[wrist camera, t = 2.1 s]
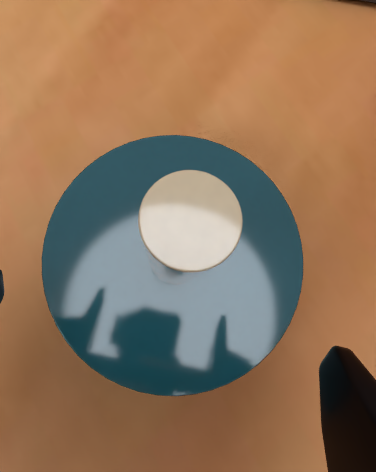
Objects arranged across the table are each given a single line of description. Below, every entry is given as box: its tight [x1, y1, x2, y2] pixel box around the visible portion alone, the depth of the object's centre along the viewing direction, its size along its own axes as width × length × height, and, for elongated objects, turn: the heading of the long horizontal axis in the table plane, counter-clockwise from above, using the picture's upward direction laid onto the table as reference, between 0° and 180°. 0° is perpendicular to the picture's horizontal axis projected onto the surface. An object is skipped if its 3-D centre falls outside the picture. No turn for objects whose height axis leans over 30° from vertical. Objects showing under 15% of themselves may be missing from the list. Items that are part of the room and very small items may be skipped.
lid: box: [42, 135, 303, 396], centre depth 14 cm, size 13×13×10 cm
